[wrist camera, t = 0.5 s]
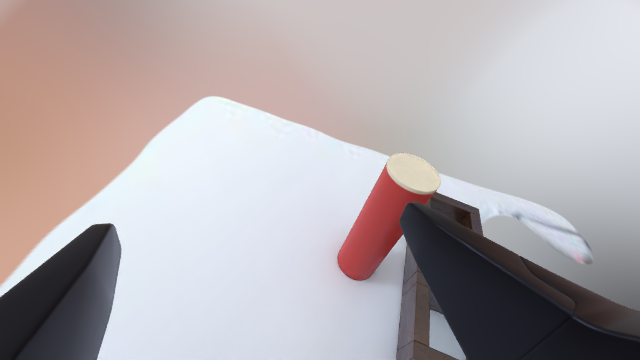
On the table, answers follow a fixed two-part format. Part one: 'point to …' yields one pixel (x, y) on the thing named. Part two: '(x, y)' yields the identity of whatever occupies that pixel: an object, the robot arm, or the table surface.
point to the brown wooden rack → (427, 288)
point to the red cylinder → (386, 213)
